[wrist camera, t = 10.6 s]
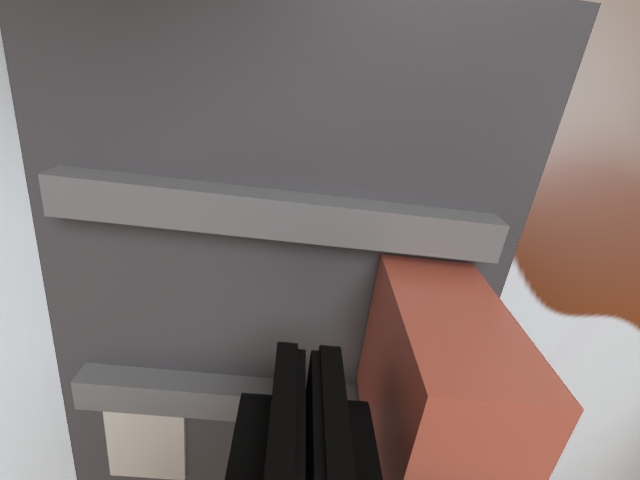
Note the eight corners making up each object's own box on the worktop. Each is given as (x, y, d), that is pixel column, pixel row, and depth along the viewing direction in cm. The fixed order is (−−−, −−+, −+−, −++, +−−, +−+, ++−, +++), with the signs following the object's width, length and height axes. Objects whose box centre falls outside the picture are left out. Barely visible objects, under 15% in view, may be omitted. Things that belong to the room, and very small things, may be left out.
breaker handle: (472, 263, 13) (584, 409, 8) (436, 383, 15) (504, 566, 10) (381, 253, 13) (428, 396, 8) (356, 377, 15) (380, 559, 10)
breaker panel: (541, 14, 13) (628, -2, 10) (411, 455, 21) (431, 538, 18) (55, -55, 12) (-54, -102, 9) (110, 432, 20) (66, 514, 17)
